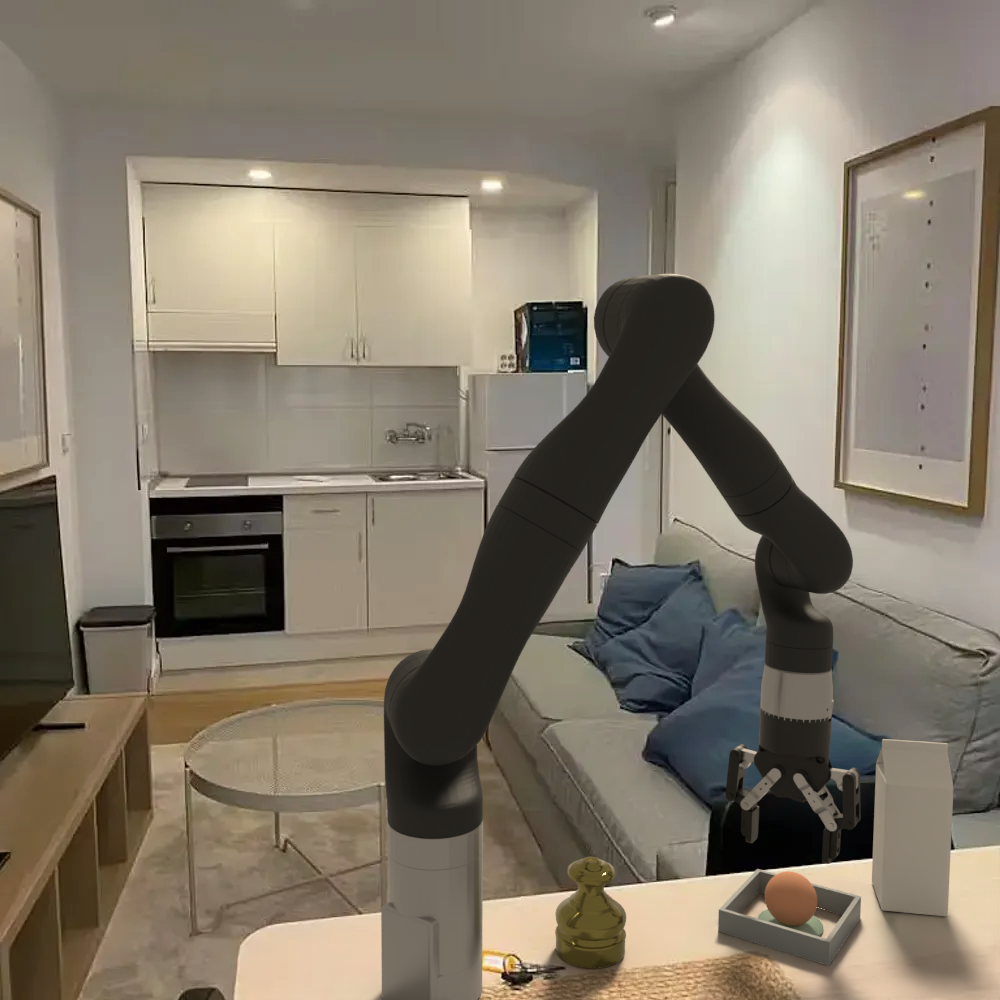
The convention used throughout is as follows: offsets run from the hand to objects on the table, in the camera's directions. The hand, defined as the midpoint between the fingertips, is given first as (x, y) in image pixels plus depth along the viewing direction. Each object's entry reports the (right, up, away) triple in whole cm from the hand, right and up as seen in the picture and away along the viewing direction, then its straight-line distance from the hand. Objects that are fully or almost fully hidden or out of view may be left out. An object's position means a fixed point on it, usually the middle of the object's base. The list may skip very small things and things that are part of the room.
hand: (789, 850), depth 111 cm
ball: (0, -8, +1) cm, 8 cm away
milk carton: (+16, -8, +6) cm, 19 cm away
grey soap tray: (0, -8, +1) cm, 8 cm away
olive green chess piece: (-22, -9, -5) cm, 25 cm away
